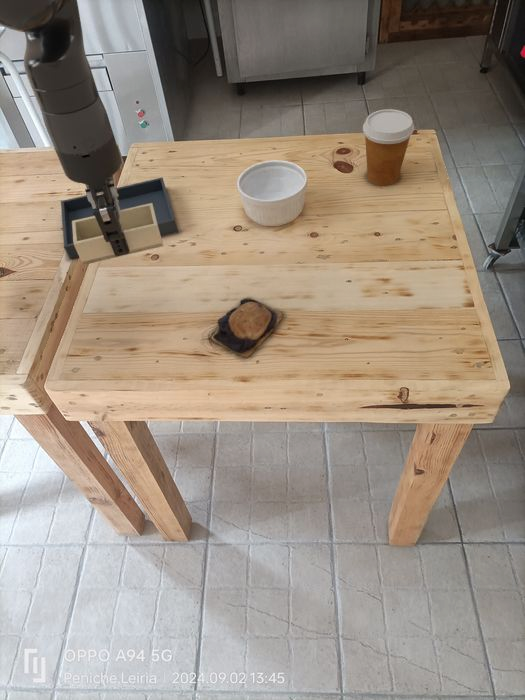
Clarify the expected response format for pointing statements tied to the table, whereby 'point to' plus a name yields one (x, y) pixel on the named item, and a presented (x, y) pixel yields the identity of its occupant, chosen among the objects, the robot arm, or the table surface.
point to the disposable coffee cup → (386, 144)
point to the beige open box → (137, 231)
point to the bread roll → (246, 327)
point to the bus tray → (127, 199)
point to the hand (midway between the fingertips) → (120, 240)
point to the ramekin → (273, 192)
